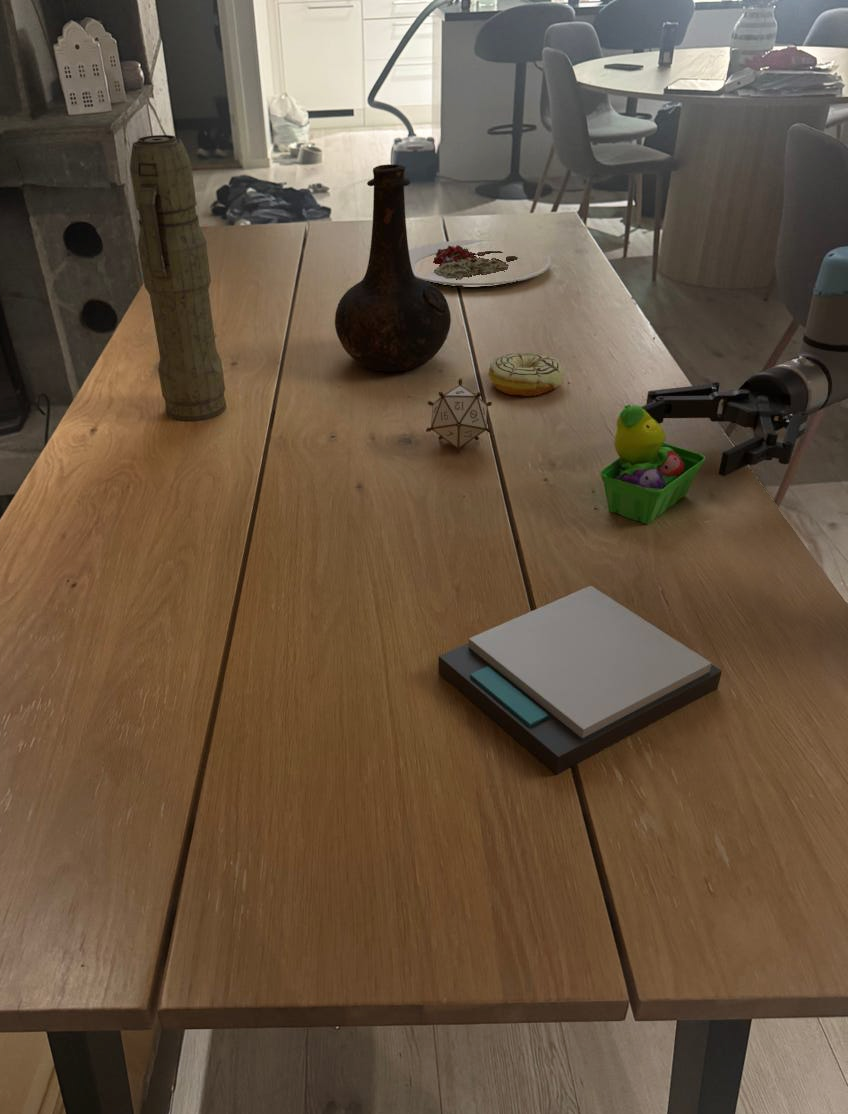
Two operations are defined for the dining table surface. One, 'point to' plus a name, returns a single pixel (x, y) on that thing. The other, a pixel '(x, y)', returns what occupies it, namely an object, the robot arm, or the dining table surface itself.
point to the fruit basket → (646, 468)
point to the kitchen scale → (576, 676)
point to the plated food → (462, 263)
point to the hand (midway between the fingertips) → (673, 444)
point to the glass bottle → (391, 292)
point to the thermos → (177, 278)
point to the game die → (459, 416)
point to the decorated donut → (526, 374)
